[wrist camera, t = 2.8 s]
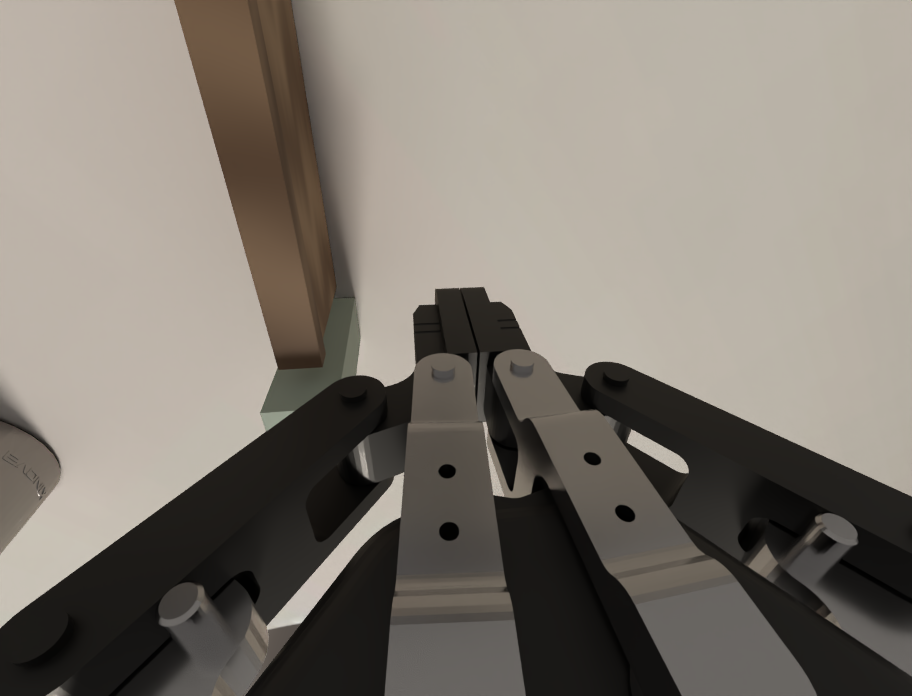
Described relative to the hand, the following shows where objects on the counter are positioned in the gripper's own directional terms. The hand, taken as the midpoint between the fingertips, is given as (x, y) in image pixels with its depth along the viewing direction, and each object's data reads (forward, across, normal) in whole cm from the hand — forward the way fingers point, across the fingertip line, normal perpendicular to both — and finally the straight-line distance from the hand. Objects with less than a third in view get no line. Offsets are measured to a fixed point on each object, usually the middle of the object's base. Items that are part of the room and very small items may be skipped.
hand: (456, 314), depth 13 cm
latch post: (+12, +6, +7) cm, 15 cm away
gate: (+11, +6, -4) cm, 14 cm away
